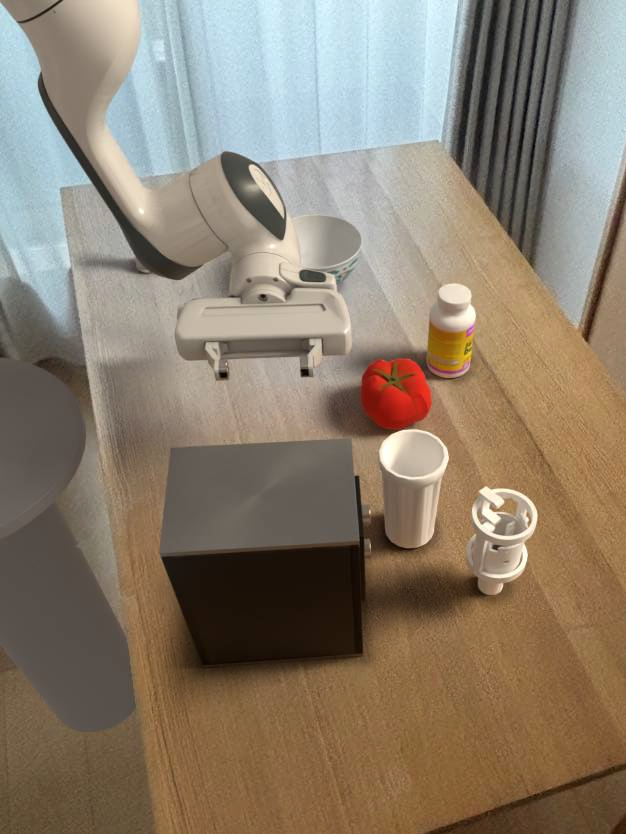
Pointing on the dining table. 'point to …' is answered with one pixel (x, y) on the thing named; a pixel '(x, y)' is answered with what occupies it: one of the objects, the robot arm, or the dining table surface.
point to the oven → (267, 550)
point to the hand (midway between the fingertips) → (264, 374)
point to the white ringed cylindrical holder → (499, 539)
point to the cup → (411, 485)
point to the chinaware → (328, 244)
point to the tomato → (395, 393)
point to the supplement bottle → (451, 332)
